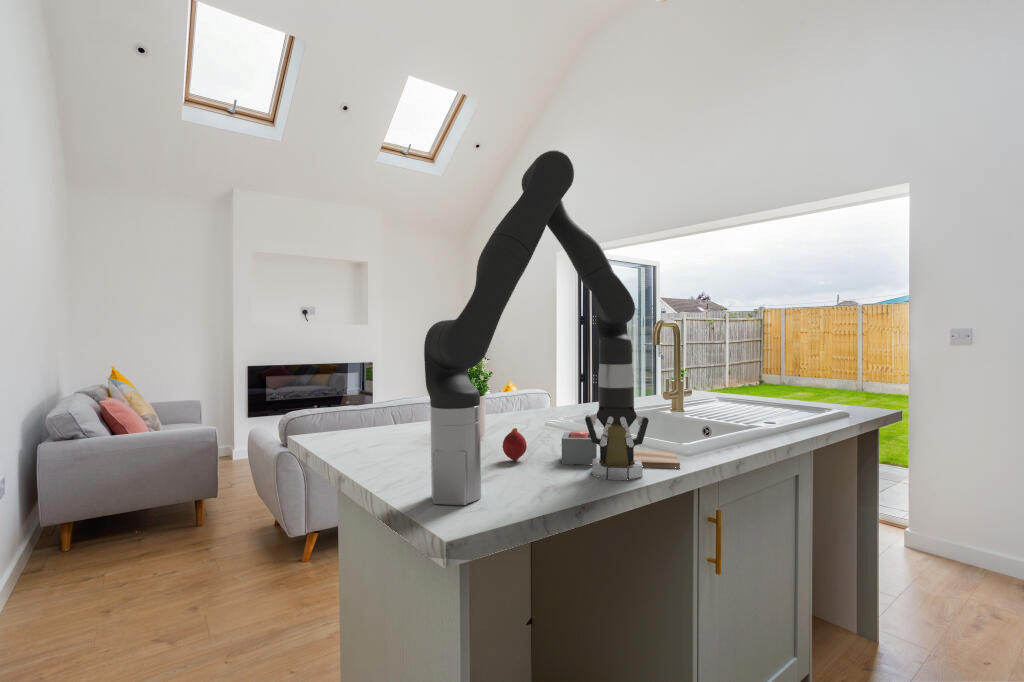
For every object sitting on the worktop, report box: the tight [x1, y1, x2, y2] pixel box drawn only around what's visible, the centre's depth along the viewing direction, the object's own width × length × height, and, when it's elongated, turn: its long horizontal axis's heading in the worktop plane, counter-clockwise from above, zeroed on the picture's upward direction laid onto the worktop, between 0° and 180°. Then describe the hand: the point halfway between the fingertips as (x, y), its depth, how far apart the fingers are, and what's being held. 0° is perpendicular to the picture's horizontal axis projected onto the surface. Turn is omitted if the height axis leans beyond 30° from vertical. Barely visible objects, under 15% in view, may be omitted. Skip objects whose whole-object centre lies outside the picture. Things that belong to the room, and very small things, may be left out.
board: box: [634, 449, 681, 469], centre depth 120 cm, size 12×12×1 cm
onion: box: [502, 427, 528, 462], centre depth 122 cm, size 6×6×8 cm
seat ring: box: [591, 456, 644, 481], centre depth 110 cm, size 10×10×2 cm
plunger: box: [570, 430, 589, 438], centre depth 121 cm, size 4×4×6 cm
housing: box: [561, 431, 598, 465], centre depth 121 cm, size 8×8×6 cm
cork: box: [604, 424, 630, 467], centre depth 110 cm, size 6×6×11 cm
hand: (616, 462), depth 110 cm, fingers open, 4 cm apart
